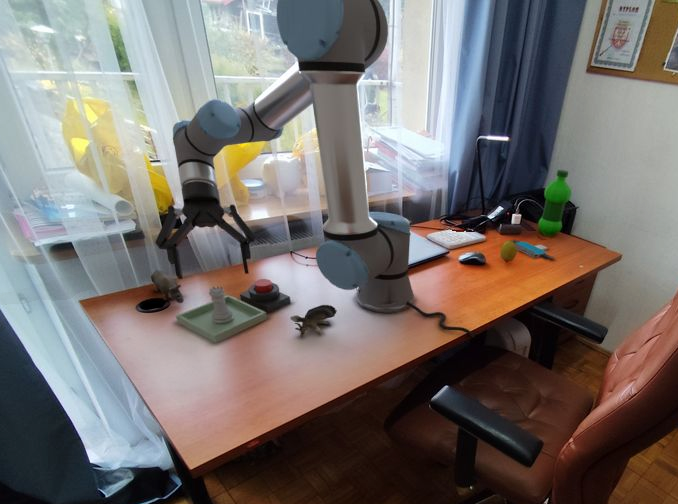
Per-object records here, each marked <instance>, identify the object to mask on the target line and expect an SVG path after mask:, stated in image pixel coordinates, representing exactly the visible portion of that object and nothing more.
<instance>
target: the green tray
mask: <svg viewBox="0 0 678 504" xmlns="http://www.w3.org/2000/svg"><path fill="white" fill-rule="evenodd" d="M224 297H225V303H226V305H227V307H228V308H229V310H231V311H232V315H233V319H232V321H230V322H229V323H225V324H218V323H215V322H214V321H213V320H212V318H213V317H212V313H213V310H214V304H213V301H212V300H211V301H209V302H207V303H205V304H201V305H199V306H197V307H195V308H191V309H189V310H186V311H184V312H182V313H179V314H176V315H175V317H176V322H177V323H178V324H180V325H181V326H183V327H185V328H187V329H189V330H191V331H192V332H195V333H196V334H198V335H200V336H201V337H204V338H206V339H208V340H209V341H211V342H213V343H215V344H217V343H220V342H222V341H224V340H226V339H228V338H230V337H232V336H234V335H236V334H238V333H241V332H243V331H245V330H247V329H249V328H252V327H253V326H256V325H258V324H259V323H261V322H263V321H266V320H267V319H268V317H267V313H266V312H264V311H262V310H260V309H258V308H256V307H254V306H251V305H249V304H247V303H245V302H243V301H241V299H238V298H236V297H234V296H233V295H230V294H227V295H224Z"/></svg>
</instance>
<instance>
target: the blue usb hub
mask: <svg viewBox="0 0 678 504" xmlns="http://www.w3.org/2000/svg"><path fill="white" fill-rule="evenodd" d="M512 242H514V243H515V245H516V247H517V251H519V252H521V253H523V254H525V255H527V256H529V257H531V258H533V259H536V258H542V259H544V260H550V261H554V256H550V255H549V254H547V253H548V252H547V251H546V250H548V249H549V247H547V246H545V245H544V244H537V245H533V244H531V243H529V242H527V241H520V240H517V239H512Z"/></svg>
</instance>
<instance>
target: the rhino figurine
mask: <svg viewBox="0 0 678 504" xmlns="http://www.w3.org/2000/svg"><path fill="white" fill-rule="evenodd" d="M150 279H151V282H152V283H153V284H154V286H155V288H154V290H155V292H161V293H162V294H163V295H164V296H163V298H162V299H163V301H169V300H171V298H172V299H174V300H175V301H176V303H179V304H182V303H184V299H183V294H182V292H181V291H180V289H179V288H182V287H181V286H182V285H181V284H178V283H177V281H176V280H175V279H174V278H173V276H172V275H169V274H168V272H167V271H165V270H162V269H155V271H154V272H152V273H151V275H150ZM169 295H170V296H169ZM170 297H171V298H170Z"/></svg>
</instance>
